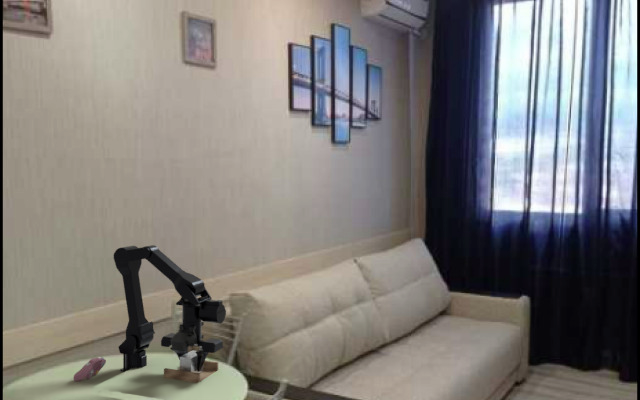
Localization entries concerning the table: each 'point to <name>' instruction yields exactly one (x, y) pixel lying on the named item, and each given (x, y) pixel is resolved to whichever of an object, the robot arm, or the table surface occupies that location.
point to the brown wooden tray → (192, 373)
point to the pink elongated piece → (90, 369)
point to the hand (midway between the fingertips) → (191, 370)
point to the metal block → (189, 362)
